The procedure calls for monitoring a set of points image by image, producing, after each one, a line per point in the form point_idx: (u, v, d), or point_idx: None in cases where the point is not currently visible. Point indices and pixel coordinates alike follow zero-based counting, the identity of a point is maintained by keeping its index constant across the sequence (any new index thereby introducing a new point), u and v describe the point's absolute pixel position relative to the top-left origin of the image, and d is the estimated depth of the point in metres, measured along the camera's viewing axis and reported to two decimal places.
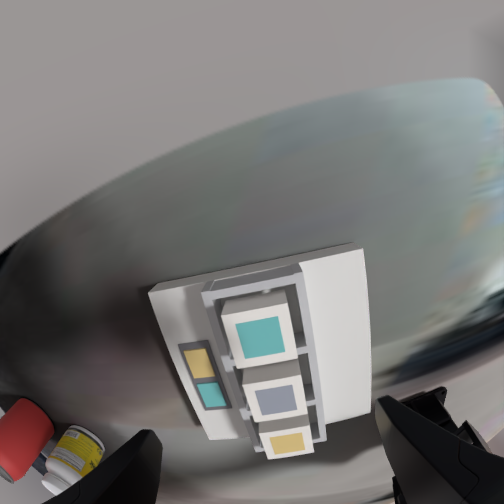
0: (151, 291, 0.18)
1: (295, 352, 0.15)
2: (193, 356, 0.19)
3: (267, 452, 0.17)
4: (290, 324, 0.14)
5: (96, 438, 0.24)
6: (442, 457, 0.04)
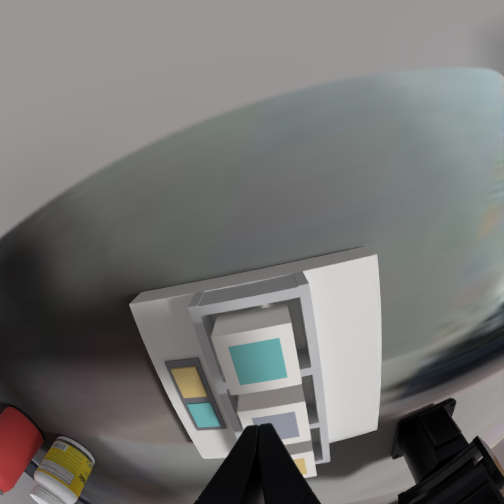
0: (133, 302, 0.15)
1: (299, 377, 0.12)
2: (182, 375, 0.16)
3: None
4: (294, 347, 0.12)
5: (85, 450, 0.22)
6: None
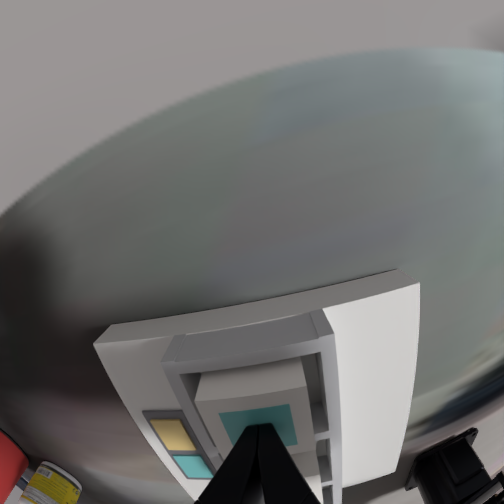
0: (98, 341, 0.11)
1: (313, 444, 0.08)
2: (165, 427, 0.12)
3: None
4: (308, 413, 0.08)
5: (71, 477, 0.17)
6: None
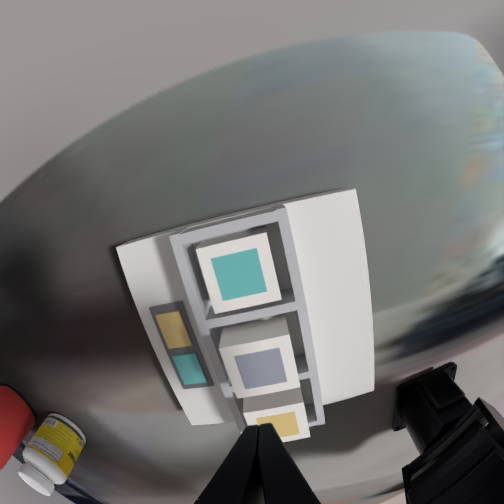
0: (120, 246, 0.16)
1: (278, 292, 0.14)
2: (167, 321, 0.16)
3: None
4: (270, 257, 0.13)
5: (76, 427, 0.22)
6: None
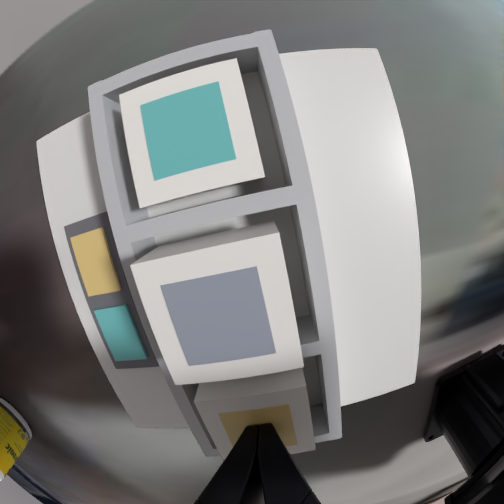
0: None
1: (258, 161, 0.07)
2: (86, 248, 0.10)
3: (220, 447, 0.08)
4: (243, 96, 0.07)
5: (18, 416, 0.15)
6: None
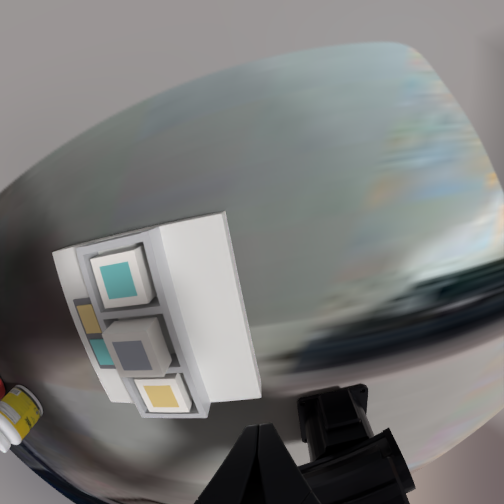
0: (55, 251, 0.19)
1: (145, 297, 0.17)
2: (84, 311, 0.19)
3: (146, 403, 0.19)
4: (137, 269, 0.16)
5: (34, 398, 0.25)
6: None
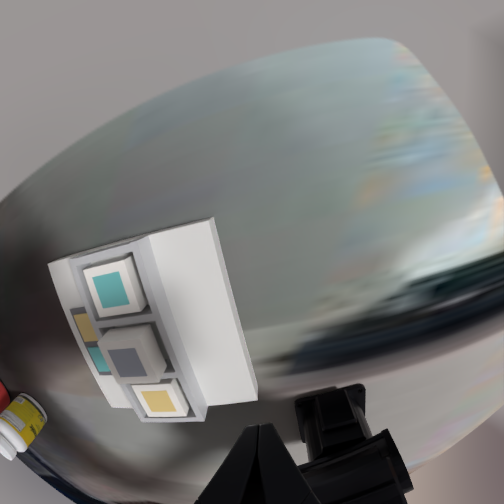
0: (50, 262, 0.19)
1: (137, 305, 0.17)
2: (81, 320, 0.19)
3: (144, 408, 0.19)
4: (128, 279, 0.16)
5: (38, 405, 0.25)
6: None
